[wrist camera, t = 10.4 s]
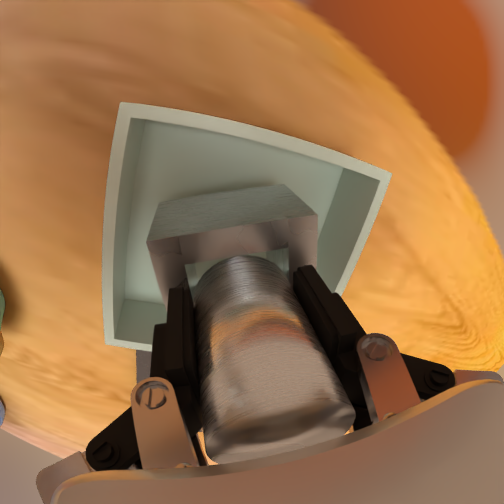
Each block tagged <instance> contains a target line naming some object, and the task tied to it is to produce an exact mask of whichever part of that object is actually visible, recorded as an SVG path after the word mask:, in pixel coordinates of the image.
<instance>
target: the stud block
mask: <svg viewBox="0 0 504 504" xmlns="http://www.w3.org/2000/svg"><path fill="white" fill-rule="evenodd" d="M151 354H152V352H151V351H144V350H137V349H136V366H137V384H138V383H139V382H140V381H142V380H144V379H147V378H150V367H151ZM199 432H203V427H202V428H201V430H200V431H199ZM203 433H204V432H203Z"/></svg>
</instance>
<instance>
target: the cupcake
mask: <svg viewBox="0 0 504 504" xmlns="http://www.w3.org/2000/svg"><path fill="white" fill-rule="evenodd" d="M4 310H5V299H4V296H3V293H2V291H1V289H0V355H1V354H2V350H3V348H4V340H3V337H2V333H1V324H2V318H3V314H4Z"/></svg>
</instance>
